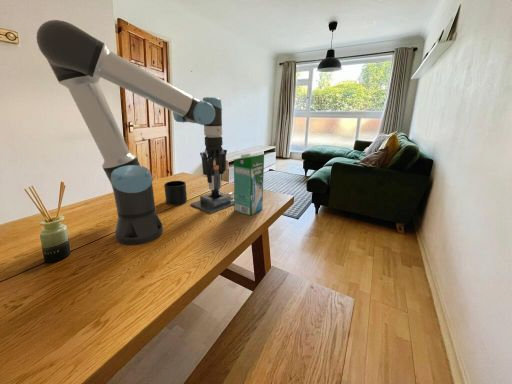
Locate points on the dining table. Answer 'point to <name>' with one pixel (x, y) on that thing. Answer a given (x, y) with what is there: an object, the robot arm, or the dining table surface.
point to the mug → (175, 192)
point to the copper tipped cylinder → (216, 180)
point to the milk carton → (248, 183)
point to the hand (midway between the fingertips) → (215, 188)
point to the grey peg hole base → (214, 202)
